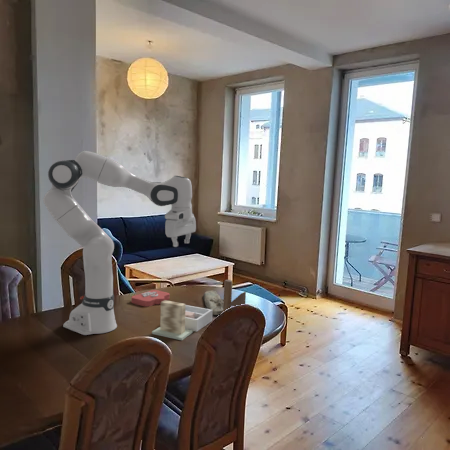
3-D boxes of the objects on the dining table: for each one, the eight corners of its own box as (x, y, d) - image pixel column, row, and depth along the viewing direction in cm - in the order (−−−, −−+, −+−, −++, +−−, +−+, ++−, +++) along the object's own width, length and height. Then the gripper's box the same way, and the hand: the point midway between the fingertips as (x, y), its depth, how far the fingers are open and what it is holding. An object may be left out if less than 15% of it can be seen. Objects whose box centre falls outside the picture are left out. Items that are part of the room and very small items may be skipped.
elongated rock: (218, 297, 230) (200, 298, 228) (218, 287, 230) (200, 288, 228) (230, 315, 196) (209, 317, 194) (229, 304, 195) (208, 306, 193)
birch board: (160, 329, 173) (160, 302, 172) (164, 327, 176) (164, 300, 174) (181, 334, 169) (181, 305, 168) (184, 332, 172) (185, 303, 170)
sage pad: (152, 333, 171) (152, 331, 171) (163, 326, 180) (163, 324, 179) (181, 340, 166) (181, 337, 166) (192, 332, 174) (192, 330, 174)
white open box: (164, 324, 182) (164, 313, 181) (181, 314, 195) (181, 304, 195) (196, 331, 175) (197, 320, 175) (212, 320, 189) (212, 309, 188)
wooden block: (240, 324, 186) (241, 284, 184) (221, 318, 192) (222, 280, 190) (244, 321, 189) (246, 283, 186) (225, 316, 195) (227, 279, 193)
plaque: (151, 301, 202) (129, 295, 210) (151, 309, 203) (129, 303, 211) (175, 293, 217) (153, 288, 225) (175, 300, 218) (153, 295, 226)
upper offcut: (173, 319, 181) (174, 313, 180) (177, 316, 185) (177, 310, 184) (191, 322, 179) (191, 315, 178) (194, 319, 182) (194, 312, 182)
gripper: (187, 211, 192) (187, 240, 194) (162, 215, 173) (162, 247, 175) (199, 212, 189) (199, 242, 191) (175, 216, 171) (175, 249, 173)
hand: (181, 244), depth 183 cm, fingers open, 8 cm apart
